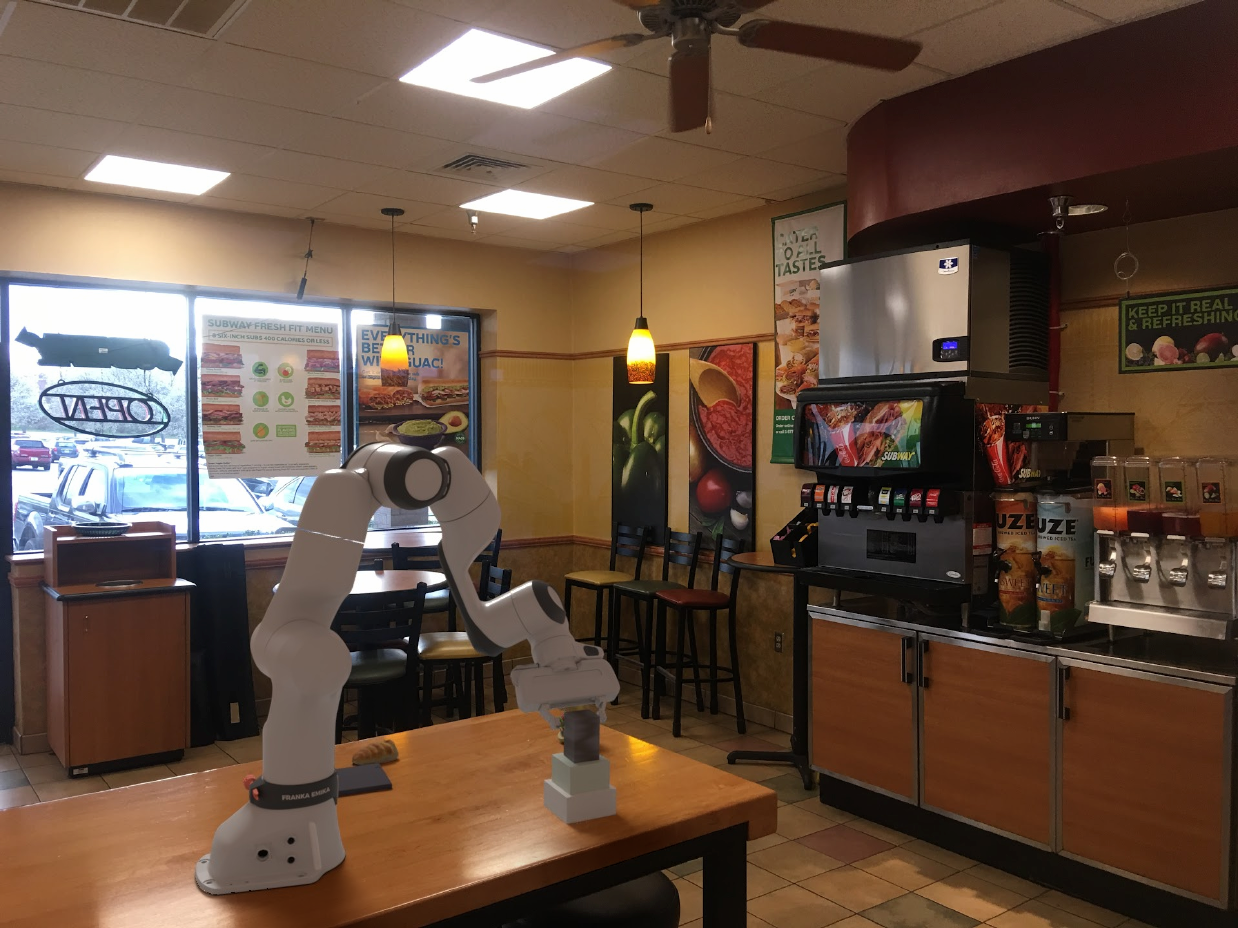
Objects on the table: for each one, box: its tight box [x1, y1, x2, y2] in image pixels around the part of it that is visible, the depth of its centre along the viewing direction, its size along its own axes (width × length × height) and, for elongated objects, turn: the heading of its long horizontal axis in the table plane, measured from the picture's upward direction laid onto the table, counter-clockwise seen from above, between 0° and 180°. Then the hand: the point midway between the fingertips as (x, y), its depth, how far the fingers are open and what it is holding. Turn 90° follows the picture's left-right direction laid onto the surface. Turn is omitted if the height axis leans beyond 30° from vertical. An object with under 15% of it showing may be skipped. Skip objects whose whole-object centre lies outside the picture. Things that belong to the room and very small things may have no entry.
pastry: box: [351, 738, 400, 766], centre depth 206 cm, size 9×7×4 cm
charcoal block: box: [563, 708, 601, 763], centre depth 180 cm, size 5×5×8 cm
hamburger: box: [557, 704, 590, 744], centre depth 220 cm, size 8×7×12 cm
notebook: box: [335, 763, 393, 797], centre depth 191 cm, size 13×2×21 cm
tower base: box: [543, 778, 617, 825], centre depth 180 cm, size 10×10×5 cm
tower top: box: [550, 752, 611, 795], centre depth 180 cm, size 8×8×5 cm
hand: (579, 724), depth 181 cm, fingers open, 8 cm apart
